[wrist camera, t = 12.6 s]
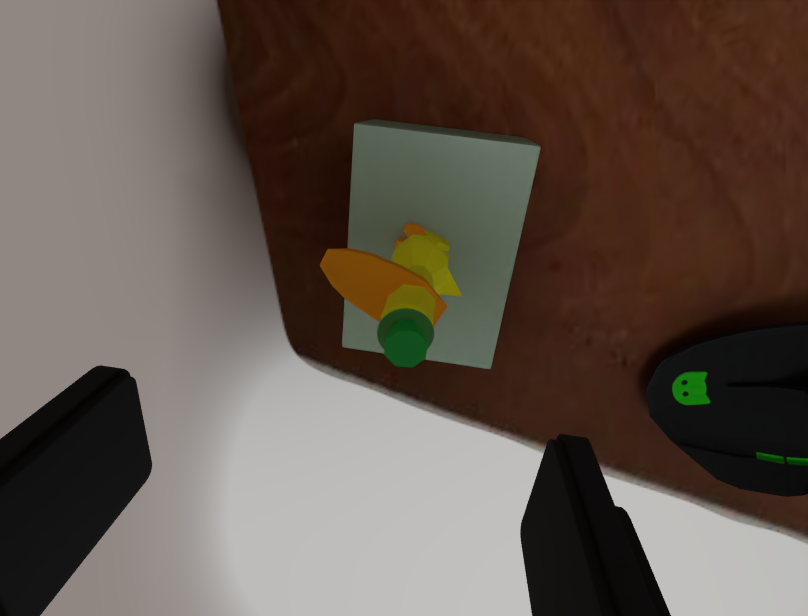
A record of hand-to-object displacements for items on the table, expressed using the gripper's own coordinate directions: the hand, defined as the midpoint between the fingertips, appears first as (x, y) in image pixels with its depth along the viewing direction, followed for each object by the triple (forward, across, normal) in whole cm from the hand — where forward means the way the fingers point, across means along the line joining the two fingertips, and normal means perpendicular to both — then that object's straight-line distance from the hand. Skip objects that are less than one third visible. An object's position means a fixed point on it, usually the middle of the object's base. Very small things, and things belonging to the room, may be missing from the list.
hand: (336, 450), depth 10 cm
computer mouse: (+18, -26, +9) cm, 32 cm away
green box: (+24, -2, +2) cm, 24 cm away
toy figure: (+18, 0, 0) cm, 18 cm away
